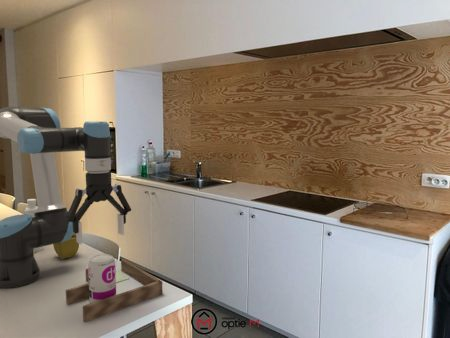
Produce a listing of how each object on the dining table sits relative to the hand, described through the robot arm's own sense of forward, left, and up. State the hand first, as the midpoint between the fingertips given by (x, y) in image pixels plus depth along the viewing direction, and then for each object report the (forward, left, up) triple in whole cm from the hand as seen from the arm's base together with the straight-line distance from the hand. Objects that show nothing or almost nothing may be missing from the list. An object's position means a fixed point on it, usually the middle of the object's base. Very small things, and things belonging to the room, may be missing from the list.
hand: (101, 238), depth 116 cm
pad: (+10, +16, -22) cm, 28 cm away
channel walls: (+4, +6, -22) cm, 23 cm away
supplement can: (0, 0, -22) cm, 22 cm away
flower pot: (+6, +50, -22) cm, 55 cm away
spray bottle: (-2, +68, -22) cm, 72 cm away
